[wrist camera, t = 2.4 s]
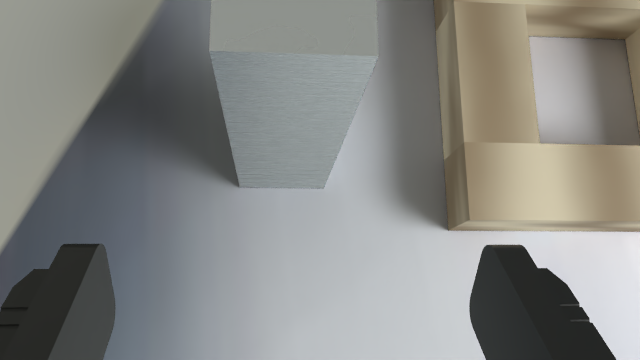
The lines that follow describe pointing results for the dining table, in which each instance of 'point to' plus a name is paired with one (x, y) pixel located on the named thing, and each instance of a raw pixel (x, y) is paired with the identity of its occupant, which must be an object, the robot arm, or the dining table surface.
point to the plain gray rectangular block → (290, 83)
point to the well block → (527, 120)
